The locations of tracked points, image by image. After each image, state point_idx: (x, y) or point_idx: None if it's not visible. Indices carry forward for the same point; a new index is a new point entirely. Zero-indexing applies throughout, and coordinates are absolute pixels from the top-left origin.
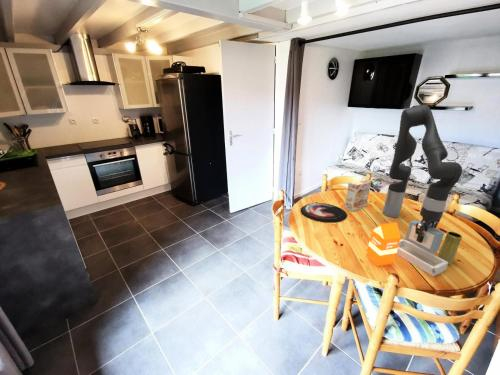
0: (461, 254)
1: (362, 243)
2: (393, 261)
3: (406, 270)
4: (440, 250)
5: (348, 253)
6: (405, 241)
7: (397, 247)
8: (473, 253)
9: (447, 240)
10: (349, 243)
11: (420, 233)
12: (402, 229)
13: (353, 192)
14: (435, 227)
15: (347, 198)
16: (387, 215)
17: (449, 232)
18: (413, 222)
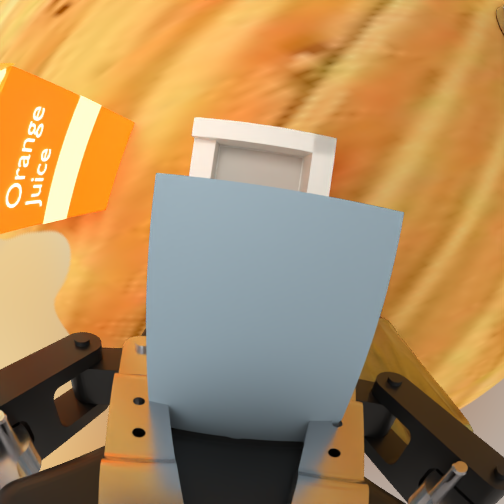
0: (453, 354)
1: (141, 22)
2: (97, 209)
3: (111, 276)
4: (375, 348)
5: (27, 66)
6: (310, 163)
7: (35, 223)
8: (479, 367)
9: (394, 421)
10: (94, 7)
11: (58, 403)
12: (475, 97)
13: None
14: (384, 459)
15: None
16: (500, 23)
17: (462, 422)
18: (180, 246)
